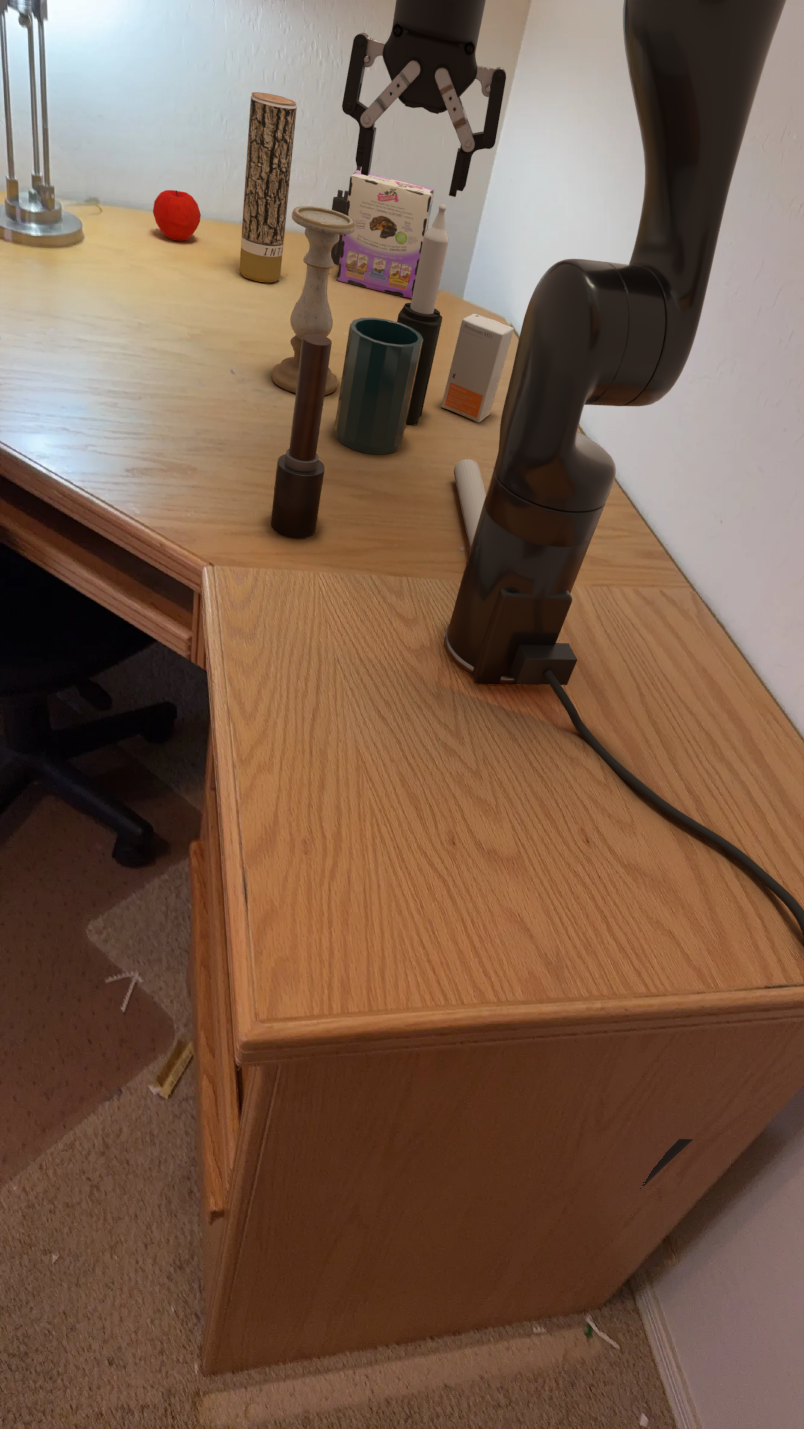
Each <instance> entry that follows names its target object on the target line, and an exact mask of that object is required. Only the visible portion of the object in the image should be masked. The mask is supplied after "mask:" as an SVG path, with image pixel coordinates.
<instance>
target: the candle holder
mask: <svg viewBox="0 0 804 1429" xmlns="http://www.w3.org/2000/svg"><path fill="white" fill-rule="evenodd" d="M291 220H292V221H293V222H294V223H295V224H297V225H299V226H301V227H303V228H304V236H305V238H306V239H307V241H308V245H309V246H308V251H307V253H306V254H305V256H304V257H303V258H302V261H303V262H304V264H305V265H306V272H305V277H304V285H303V288H302V291H301V294H300V296H299V298H298V299H297V301H296V303H295V304H294V306H293V309H292V310H291V314H290V319H289V322H290V326H291V330H292V331H293V333H294V334H295V335H294V336H293V337H292V338H290V341H289V344H290V345H291V347H292V350H293V356H290V357H286V358H284V359H282V360H281V362H279V363H278V364H275V365H274V366H273V367H272V369H271V380H272V381H273V382H274V384H275V385H277V386H278V387H279V388H282V390H283V389H284V390H286V391H287V392H291V393H294V394H296V388H297V380H298V371H299V363H300V354H301V346H302V337H303V335H305V334H319V335H322V336H325V337H327V338H328V337H329V335H330V334H331V332H332V330H333V325H334V321H333V320H334V319H333V315H332V310H331V307H330V303H329V297H328V282H329V275H330V270H331V269H333V268H334V267H335V263H334V262H333V260H332V257H331V250H332V248H333V246H334V245H335V244H336V243H337V242H338V241H339V235H345V234H350V233H353V232H354V230H355V222H354V220H353V219H352V218H350V217H349V216H347V215H345V214H343V213H340V212H337V211H334V210H332V209H330V208H326V207H319V206H313V205H312V206H311V205H302V206H301V205H300V206H296V207H295V208H294V209H293V210H292V212H291ZM338 382H339V381H338V378H337V376H336V375H335V374H334V373H333V372H332V370H331V368H330V367H329V366H328V373H327V381H326V388H325V395H324V396H327V395H330V394H333V393H335V391H336V390H337V387H338V384H339V383H338Z"/></svg>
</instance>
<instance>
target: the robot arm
mask: <svg viewBox="0 0 804 1429" xmlns="http://www.w3.org/2000/svg"><path fill="white" fill-rule="evenodd" d="M486 2H487V0H395V6H394V13H393V19H392V25H391V31H390V35H389V36H388V39H387V40H386V42H384V41H381V40H379V39H376V38H372V37H369V35H368V34H367V33H366V32H360V33H358V34H356V35H355V36H354V37H353V39H352V40H353V41H352V47H351V52H350V58H349V63H348V69H347V74H346V81H345V87H344V92H343V97H342V98H343V99H342V104H341V110H342V112H343V113H344V114H345V115H347V116H350V117H351V118H352V119H353V120H355V121H356V122H357V124H358V127H359V130H358V138H357V145H356V151H355V152H356V153H355V165H356V167H357V166H359V167H361V170H360V171H361V174H362V175H366V176H368V175H369V173H371V169H372V168H371V167H372V160H373V155H374V147H375V141H376V134H377V127H375V125H376V122H377V121H378V120H379V118H381V116H383V114H384V113H385V112H386V111H387V110H388V109H389V108H390V107H391V106H392V105H393V103H394V102H395V101H396V100H397V99H398V100H399V101H400V102H401V103H402V104H403V105H404V107H407V108H412V109H418V108H419V109H421V108H423V110H425V111H427V112H428V113H432V114H436V115H439V114H442V113H445V112H447V113H448V115H449V119H450V121H451V123H452V127H453V128H454V130H455V133H456V135H457V138H458V140H459V144H460V147H458V148H457V151H456V157H455V161H454V167H453V172H452V176H451V181H450V186H449V191H448V196H449V197H452V198H456V197H457V194H458V193H457V192H458V191H459V192H463V191H464V189H465V188H466V186H467V182H468V176H469V171H470V167H471V162H472V157H473V155H474V153H475V152H477V151H481V150H491V149H493V148H494V146H495V145H496V140H497V135H498V128H499V124H500V117H501V111H502V106H503V100H504V99H503V98H504V94H505V87H506V81H507V72H506V70H505V69H504V67H501V66H497V67H495V68H493V67H488V66H483V65H478V64H477V58H476V52H477V46H478V42H479V37H480V31H481V25H482V22H483V16H484V11H485V6H486ZM786 2H787V0H623V6H622V7H623V8H622V31H623V43H624V44H623V46H624V53H625V58H626V64H627V70H628V77H629V81H630V87H631V92H632V96H633V102H634V108H635V111H636V117H637V121H638V126H639V131H640V132H639V133H640V138H641V145H642V152H643V161H644V162H643V164H644V186H643V187H644V188H643V199H642V204H641V212H640V218H639V221H638V222H639V223H638V229H637V233H636V237H635V241H634V246H633V249H632V253H631V257H630V260H629V263H628V264H626V263H618V262H611V261H610V262H609V261H601V260H593V259H587V258H586V259H584V258H566V259H562V260H559V261H557V262H555V263H554V264H552V265H551V266H550V267H549V268H548V269H547V270H546V271H545V272H544V274H542V276H541V277H540V279H539V281H538V283H537V284H536V286H535V288H534V289H533V292H532V295H531V297H530V299H529V301H528V305H527V307H526V310H525V313H524V316H523V321H522V325H521V329H520V332H519V336H518V342H517V345H516V351H515V356H514V361H513V364H512V369H511V374H510V379H509V383H508V387H507V392H506V396H505V399H504V403H503V408H502V412H501V417H500V425H499V440H498V451H497V456H496V459H495V464H494V466H493V471H492V473H491V477H490V481H489V483H488V487H487V490H486V497H485V501H484V504H483V507H482V511H481V514H480V518H479V521H478V525H477V528H476V532H475V535H474V539H473V542H472V546H471V549H470V548H469V554H468V556H467V560H466V563H465V567H464V571H463V574H462V578H461V580H460V585H459V588H458V591H457V596H456V599H455V601H454V606H453V610H452V613H451V617H450V621H449V624H448V625H447V628H446V630H445V634H444V637H443V638H444V639H443V646H444V650H445V653H446V654H447V656H448V658H449V659H450V660H451V661H452V662H453V663H454V665H456V667H457V668H459V669H460V670H462V671H463V672H465V673H466V674H468V675H470V676H471V678H472V679H473V681H474V683H475V684H476V685H499V686H500V685H503V686H514V685H515V686H516V685H517V686H525V685H526V686H549V687H550V688H551V689H552V691H553V692H554V694H555V695H556V697H557V698H558V700H559V702H560V703H561V705H562V706H563V708H564V710H565V711H566V713H567V715H568V717H569V719H570V721H571V723H572V725H573V727H574V728H575V730H576V731H577V732H578V733H579V735H580V736H581V737H582V738H583V740H584V741H585V742H586V743H587V744H588V746H590V747H591V748H592V750H594V751H595V752H596V753H597V754H598V756H600V757H601V758H602V760H603V761H604V762H605V763H606V764H607V765H608V766H609V767H610V768H611V769H612V770H613V771H614V773H615V774H616V775H618V776H619V777H620V778H621V779H622V780H624V781H625V782H626V783H627V784H628V785H629V786H631V788H633V789H635V791H637V792H638V793H639V794H640V795H641V796H642V797H644V798H645V799H646V800H648V802H649V803H651V804H652V805H654V806H655V807H656V808H657V809H659V810H660V811H661V812H663V813H664V814H665V815H667V816H669V817H670V818H672V819H673V820H675V821H676V822H678V823H679V824H681V825H682V826H683V827H685V828H687V829H689V830H690V831H692V832H693V833H695V834H697V835H698V836H700V837H702V838H703V839H705V840H706V841H709V842H710V843H712V844H713V845H715V846H716V847H717V848H719V849H721V850H723V851H724V852H725V853H726V854H728V855H729V856H730V857H732V858H733V859H735V860H736V861H737V862H738V863H739V864H741V865H742V866H743V867H744V868H745V869H746V870H747V871H748V872H750V873H751V874H752V875H753V876H754V877H755V878H756V879H758V880H759V882H761V883H762V884H763V885H764V886H765V887H767V889H769V891H770V892H772V893H773V894H774V895H775V896H776V897H777V898H778V899H779V900H780V901H781V902H782V903H783V904H784V905H785V906H786V907H787V909H788V910H789V911H790V913H791V914H792V916H793V917H794V918H795V920H796V922H797V924H798V926H799V928H800V931H801V933H802V936H803V937H804V908H803V907H802V906H801V904H800V903H799V902H798V900H796V898H795V897H794V896H793V895H792V894H791V893H790V892H789V891H788V890H787V889H786V888H785V887H784V886H783V885H782V884H780V882H778V881H777V880H776V879H775V878H773V876H771V875H770V874H769V873H768V872H767V871H766V870H764V869H763V868H762V867H761V866H760V865H759V864H757V862H755V861H754V860H753V859H752V858H751V857H750V856H748V855H747V854H746V853H745V852H743V851H742V850H741V849H740V848H738V847H737V846H736V845H734V844H733V843H731V842H730V841H728V840H727V839H725V838H724V837H723V836H721V835H719V834H717V833H716V832H715V831H712V830H711V829H710V828H708V827H707V826H704V825H703V824H701V823H699V822H698V821H696V820H694V819H693V818H692V817H690V816H688V815H687V814H685V813H683V812H682V811H680V810H679V809H677V808H676V807H675V806H673V805H671V804H670V803H669V802H667V801H666V800H664V799H663V798H662V797H661V796H659V795H658V794H657V793H656V792H655V791H653V790H652V789H651V788H650V787H649V786H647V784H645V783H644V782H642V781H641V780H640V779H639V778H637V777H636V776H635V775H634V774H633V773H631V772H630V771H629V770H628V769H626V767H625V766H623V764H621V763H620V762H619V761H618V760H617V759H616V758H615V757H613V755H611V753H610V752H609V751H608V750H607V749H606V748H605V747H604V746H603V745H602V744H601V742H600V741H599V740H598V739H597V738H596V737H595V735H593V733H592V732H591V730H590V729H589V728H588V727H587V725H586V724H585V722H584V721H583V720H582V719H581V716H580V714H579V712H578V710H577V709H576V707H575V705H574V703H573V702H572V699H571V698H570V697H569V695H568V693H567V692H566V691H565V689H564V687H563V686H568V683H569V681H570V679H571V677H572V674H573V672H574V669H575V668H576V665H577V662H578V658H577V656H576V654H575V653H574V651H573V649H572V647H571V645H570V643H568V642H557V641H558V638H559V637H560V634H561V631H562V629H563V626H564V624H565V620H566V619H567V616H568V613H569V611H570V609H571V605H572V603H573V596H572V595H571V593H572V591H573V588H574V585H575V583H576V580H577V577H578V575H579V573H580V569H581V568H582V564H583V562H584V559H585V557H586V554H587V551H588V549H589V546H590V544H591V541H592V538H593V536H594V535H595V531H596V529H597V526H598V524H599V521H600V518H601V517H602V513H603V511H604V508H605V506H606V503H607V501H608V498H609V496H610V493H611V490H612V489H613V486H614V483H615V479H616V474H617V467H616V463H615V461H614V459H613V457H612V455H610V453H608V451H607V450H606V449H605V448H604V447H602V445H600V444H599V443H598V442H596V441H595V440H593V438H590V437H588V436H586V435H585V434H583V433H581V432H579V426H580V422H581V417H582V415H583V411H584V407H585V406H604V407H605V406H608V407H645V406H651V405H653V404H655V403H657V402H659V401H661V400H662V399H663V398H664V397H665V396H666V395H667V394H668V393H670V391H671V390H672V388H674V386H675V385H676V383H677V382H678V380H679V379H680V378H681V377H680V376H681V375H682V373H683V371H684V368H685V366H686V364H687V362H688V359H689V358H690V354H691V351H692V349H693V345H694V342H695V339H696V336H697V333H698V329H699V325H700V321H701V316H702V313H703V308H704V304H705V299H706V295H707V290H708V286H709V281H710V277H711V272H712V267H713V263H714V259H715V255H716V249H717V245H718V241H719V236H720V232H721V227H722V223H723V219H724V214H725V209H726V204H727V200H728V196H729V192H730V188H731V184H732V180H733V177H734V173H735V169H736V165H737V162H738V160H739V159H738V158H739V156H740V151H741V147H742V145H743V141H744V137H745V134H746V130H747V126H748V124H749V120H750V116H751V113H752V109H753V107H754V106H753V105H754V102H755V99H756V96H757V92H758V89H759V86H760V83H761V78H762V75H763V71H764V69H765V65H766V62H767V58H768V55H769V53H770V49H771V46H772V43H773V40H774V36H775V34H776V31H777V28H778V26H779V22H780V20H781V17H782V14H783V11H784V8H785V5H786ZM380 56H381V57H382V60H383V63H384V65H385V68H386V70H387V73H388V76H389V78H390V81H391V82H390V83H389V84H388V85H387V86H386V87H385V88H384V90H382V92H381V93H379V95H378V96H377V97H376V99H374V100H373V102H372V103H371V104H370V105H369V106H367V105H365V104H364V103H362V102H361V101H360V97H361V92H362V87H363V81H364V78H365V77H364V76H365V71H366V68H371V67H372V66H373V65H374V64H375V62H376V59H377V57H380ZM475 80H478V81H479V83H480V85H481V86H480V87H481V94H482V95H483V96H484V97H486V98H487V99H488V100H487V105H486V111H485V112H486V113H485V118H484V123H483V124H484V125H483V131H478V132H474V131H473V129H472V127H471V123H470V121H469V119H468V115H467V113H466V110H465V107H464V105H463V101H462V99H461V97H462V95H463V94H464V93H465V92H466V91H467V90H468V89H469V88H470V86H472V84H473V83H474V82H475ZM693 1141H694V1139H693V1138H679V1139H678V1140H677V1141H676V1143H675V1142H674V1143H675V1144H674V1143H673V1144H674V1145H673V1144H672V1145H673V1146H672V1145H671V1146H672V1147H671V1146H670V1147H671V1148H670V1147H669V1148H670V1149H669V1148H668V1149H669V1150H668V1149H667V1150H668V1151H667V1150H666V1151H667V1152H666V1151H665V1152H666V1153H665V1152H664V1153H665V1155H664V1156H663V1158H662V1159H661V1160H660V1161H659V1162H658V1164H657V1165H656V1166H655V1167H654V1168H653V1170H652V1171H651V1173H650V1174H649V1176H648V1178H647V1179H646V1181H645V1182H643V1183H645V1184H643V1185H642V1186H644V1187H645V1186H647V1184H648V1183H649V1182H650V1181H651V1180H653V1178H654V1177H655V1176H657V1175H658V1173H660V1171H662V1170H663V1169H664V1168H665V1167H666V1166H667V1165H668V1164H669V1163H670V1162H671V1161H672V1160H673V1159H674V1158H676V1156H678V1155H679V1154H680V1153H681V1152H682V1151H683V1150H684V1149H685V1148H686V1147H688V1145H689V1144H691V1143H692V1142H693ZM640 1189H641V1188H640ZM641 1190H642V1189H641Z"/></svg>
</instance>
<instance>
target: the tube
mask: <svg viewBox="0 0 804 1429" xmlns="http://www.w3.org/2000/svg"><path fill="white" fill-rule="evenodd" d="M481 473H482V472H481V470H480V466H479V464H478V463H477V462H476V461H475V460H474V459H471V458H465V459H462V460H460V461H458V462H457V463H456V464H455V466H454V469H453V476H454V480H455V485H456V489H457V495H458V499H459V504H460V508H461V514H462V516H463V517H462V518H463V522H464V528H465V531H466V536H467V541H468V545H469V546H468V547H469V550H470V549H471V546H472V542H473V539H474V535H475V532H476V528H477V525H478V521H479V518H480V514H481V511H482V507H483V504H484V501H485V497H486V494H487V492H486V489H485V485H484V481H483V477H482V474H481Z"/></svg>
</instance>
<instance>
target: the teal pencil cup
mask: <svg viewBox="0 0 804 1429" xmlns="http://www.w3.org/2000/svg"><path fill="white" fill-rule="evenodd" d="M348 328H349V329H348V334H347V342H346V348H345V354H344V361H343V367H342V374H341V381H340V388H339V394H338V402H337V408H336V415H335V421H334V430H333V431H334V432H333V433H334V436H335V438H336V439H337V441H338V442H339V443H341V444H342V445H343V446H345V447H347V448H349V449H352V450H353V451H354V450H355V451H357V452H360V453H365V454H369V455H370V454H371V455H389V454H392V453H393V454H394V453H396V452H397V451H399V450H400V448H401V447H402V443H403V439H404V437H405V436H404V435H405V431H406V426H407V424H406V421H407V416H408V411H409V407H410V402H411V397H412V392H413V387H414V382H415V378H416V373H417V368H418V363H419V358H420V353H421V349H422V344H423V338H422V336H421V334H420V333H419V332H417V331H416V330H414V329H413V328H411V327H409V326H406V325H404V324H402V323H399V322H397V321H394V320H390V319H387V318H381V317H380V318H379V317H360V318H356V319H353V320H352V321H351V323H350V324H349V327H348Z"/></svg>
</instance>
